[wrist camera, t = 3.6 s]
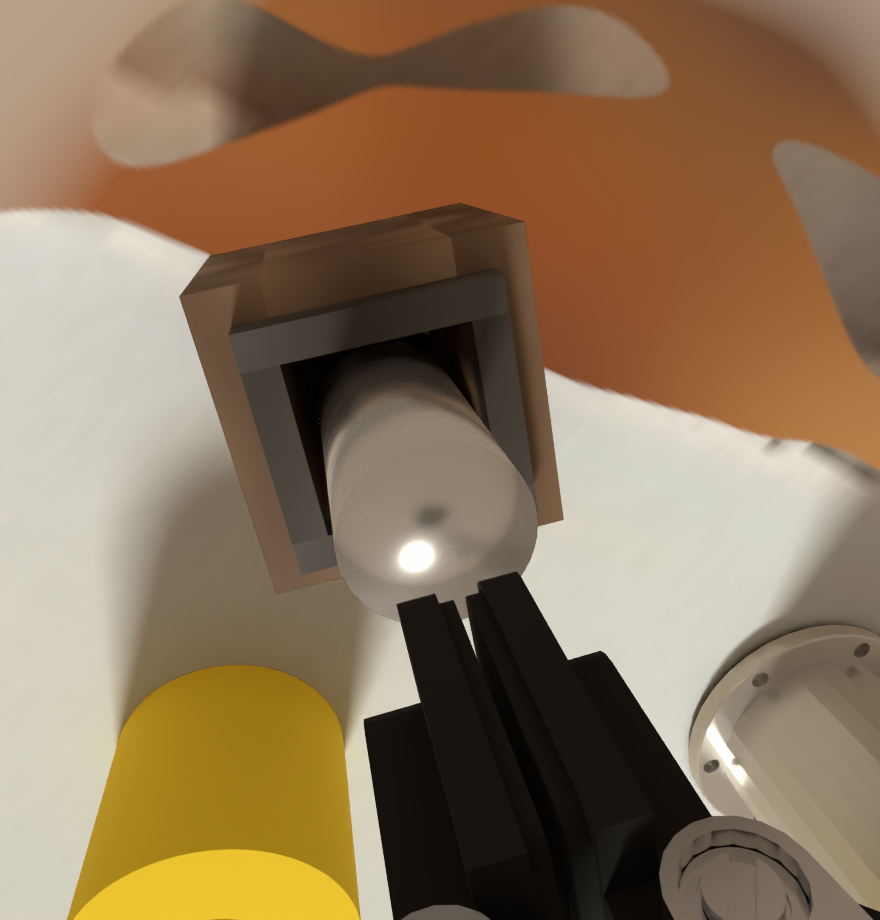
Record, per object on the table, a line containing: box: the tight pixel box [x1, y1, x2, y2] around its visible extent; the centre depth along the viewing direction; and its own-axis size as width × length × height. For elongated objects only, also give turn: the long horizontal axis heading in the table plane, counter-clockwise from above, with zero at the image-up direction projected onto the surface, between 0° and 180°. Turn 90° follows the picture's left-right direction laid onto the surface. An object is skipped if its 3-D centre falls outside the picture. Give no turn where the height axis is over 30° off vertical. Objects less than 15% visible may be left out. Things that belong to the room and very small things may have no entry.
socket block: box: [179, 203, 564, 594], centre depth 24 cm, size 9×9×9 cm
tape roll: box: [67, 665, 361, 920], centre depth 30 cm, size 10×10×9 cm
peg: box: [319, 342, 538, 622], centre depth 18 cm, size 4×4×8 cm
